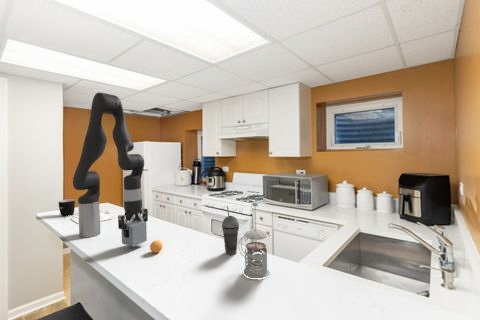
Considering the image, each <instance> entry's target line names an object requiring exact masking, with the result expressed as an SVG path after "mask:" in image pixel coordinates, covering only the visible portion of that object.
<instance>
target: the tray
mask: <svg viewBox="0 0 480 320" xmlns="http://www.w3.org/2000/svg"><path fill="white" fill-rule="evenodd" d="M74 216H75V217H74V218H71V221H74V222H75V223H77V224H78V225H79V214H77V215H74ZM111 216H113V217H114V215H113V214H110V212H109V211H108V210H105V211H104V212H100V218H102V219H100V222H103V221H108V220H113V219H112V217H111Z"/></svg>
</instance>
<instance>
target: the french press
mask: <svg viewBox="0 0 480 320" xmlns="http://www.w3.org/2000/svg"><path fill="white" fill-rule="evenodd" d="M258 206H259V204H258V202H253V203H252V207H254V220H255V221H254V222H255V225H254V226H255V227H254V228H253V229H249V230H247V231H246V232H244V234H243V235H244V236H242V237H241V238H240V239H239V240H238V242H237V247H241V249H240V248H238V250H239V253H240V255H241V256H242V257H244V264H245V265H244V266H245V267H244V269H243V270H244V274H245V275H246V276H248V277H250V278H263V277H266V276H268V275H269V273H270V274H271V271H270V270H269V269H268V250H267V248H266V247H267V244H265V243H263V242H261V241H260V240H264V239H266V238H267V236H268V233H267V232H266V231H264V230H262V229H259V228H257V219H256V218H257V216H256V215H257V212H256V210H257V209H256V208H257V207H258ZM243 240H244V241H245V242H246V241H248V240H255V241H250V242H247V243H246V244H245V249H244V250H243V247H242V244H243V243H242V242H243ZM257 240H258V241H257ZM241 251H242V252H241ZM269 271H270V272H269ZM269 276H270V275H269Z"/></svg>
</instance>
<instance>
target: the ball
mask: <svg viewBox="0 0 480 320" xmlns="http://www.w3.org/2000/svg"><path fill="white" fill-rule="evenodd" d="M162 249H163V243H162V241H161V240H154V241H152V242H151V243H150V245H149V250H150V251H151V252H152V253H154V254H155V253H156V254H158V253H159V252H161V251H162Z"/></svg>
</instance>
